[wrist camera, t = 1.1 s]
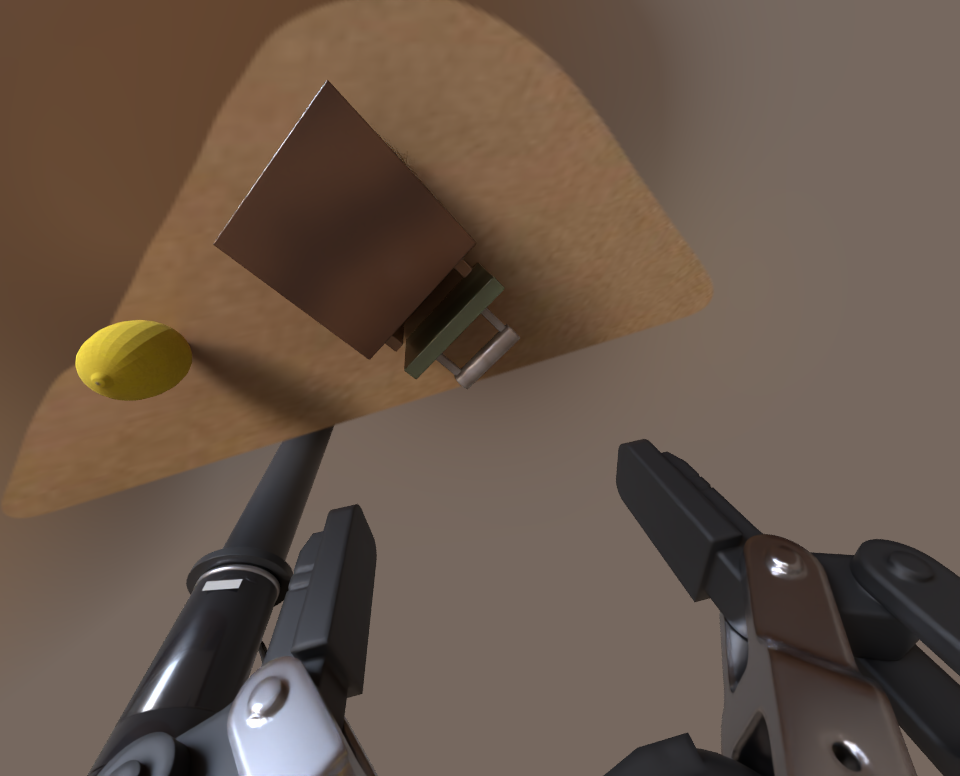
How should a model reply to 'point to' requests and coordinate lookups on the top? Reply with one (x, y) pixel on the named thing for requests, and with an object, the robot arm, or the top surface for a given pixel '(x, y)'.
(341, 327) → the cabinet
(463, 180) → the top surface
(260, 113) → the top surface
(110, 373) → the lemon
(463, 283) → the drawer
